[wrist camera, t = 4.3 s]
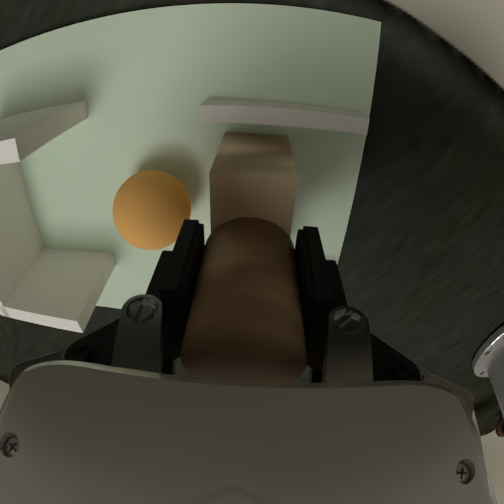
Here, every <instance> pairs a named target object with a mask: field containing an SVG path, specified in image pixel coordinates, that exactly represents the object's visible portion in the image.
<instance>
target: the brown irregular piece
mask: <svg viewBox="0 0 504 504" xmlns="http://www.w3.org/2000/svg"><path fill="white" fill-rule="evenodd" d="M496 434H497V435H498V436H499V437H503V436H504V418H503V415H502V414H501V415H500V420H499V421H498V423H497V426H496Z"/></svg>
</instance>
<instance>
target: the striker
mask: <svg viewBox="0 0 504 504" xmlns="http://www.w3.org/2000/svg"><path fill="white" fill-rule="evenodd" d="M297 182H298V175H297V171H296V167H295V163H294V159H293V155H292V151H291V147H290V143H289V139H288V136H283V135H269V134H251V133H225V134H224V136H223V139H222V141H221V144H220V146H219V149H218V151H217V154H216V156H215V159H214V161H213V164H212V167H211V169H210V172H209V183H210V222H211V234H210V235H209V237H208V239H207V241H206V244H205V247H204V251H203V255H202V260H201V264H200V268H199V272H198V276H197V280H196V285H195V289H194V293H193V298H192V302H191V306H190V311H189V315H188V320H187V325H186V329H185V334H184V338H183V343H182V348H181V354H180V357H181V362H182V365H183V366H184V368H185V369H186V371H187V372H188V373H189V374H190V375H191V376H193V377H199V378H210V379H222V380H236V381H254V382H284V383H292V382H293V381H295V380H296V379H297V378H298V377H299V376H300V375H301V374H302V373H303V372H304V370H305V368H306V364H307V356H306V345H305V335H304V325H303V316H302V306H301V297H300V289H299V280H298V272H297V264H296V256H295V249H294V245H293V242H292V240H291V238H290V236H291V228H292V221H293V213H294V206H295V198H296V190H297Z"/></svg>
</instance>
